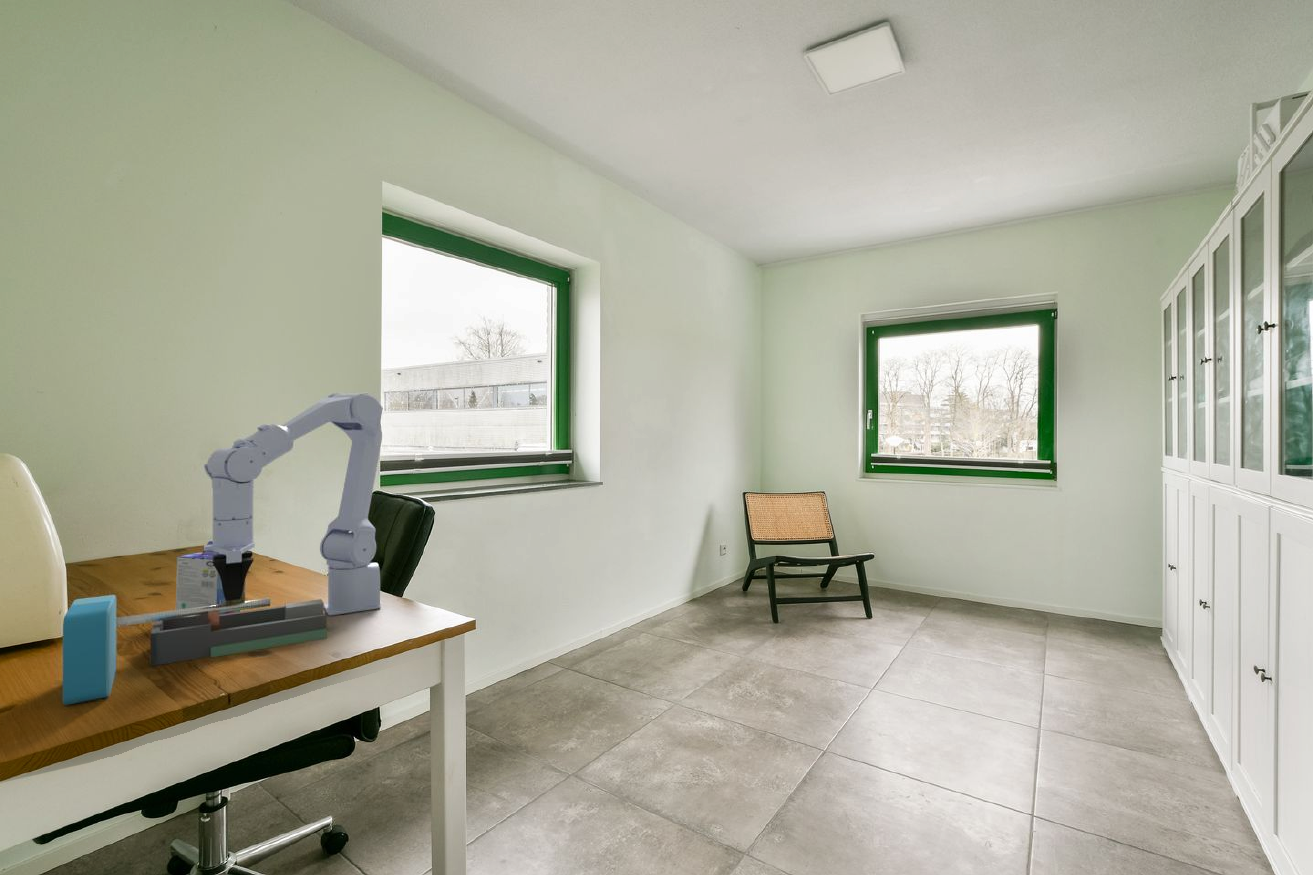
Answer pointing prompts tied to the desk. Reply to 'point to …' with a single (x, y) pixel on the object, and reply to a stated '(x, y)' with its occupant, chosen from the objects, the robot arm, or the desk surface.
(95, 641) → the blue flat block
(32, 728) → the desk surface
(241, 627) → the pitch
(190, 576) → the ink cartridge box
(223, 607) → the kicker
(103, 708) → the desk surface
